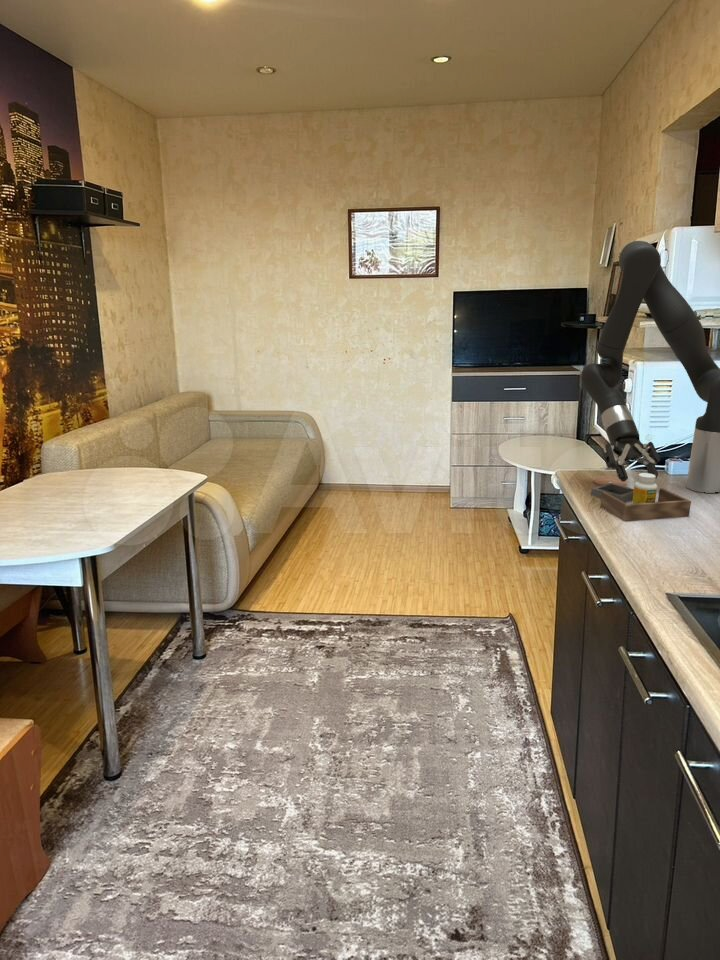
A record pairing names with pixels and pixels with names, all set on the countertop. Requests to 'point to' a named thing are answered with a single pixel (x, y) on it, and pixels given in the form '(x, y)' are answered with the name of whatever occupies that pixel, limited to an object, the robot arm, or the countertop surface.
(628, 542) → the countertop surface
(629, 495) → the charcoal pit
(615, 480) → the tan round disc
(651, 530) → the countertop surface
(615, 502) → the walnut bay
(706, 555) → the countertop surface
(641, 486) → the supplement bottle
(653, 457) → the robot arm
